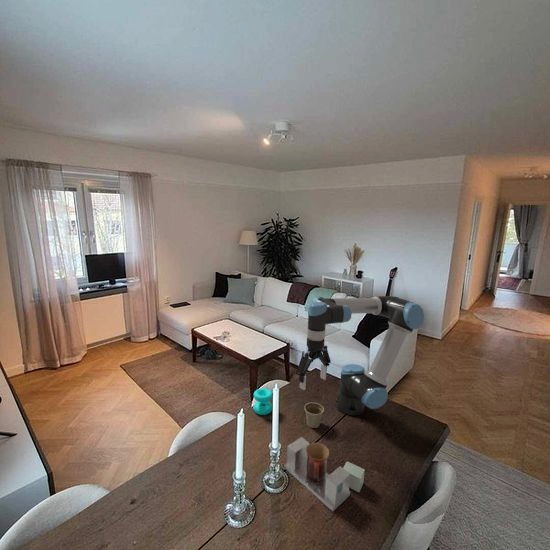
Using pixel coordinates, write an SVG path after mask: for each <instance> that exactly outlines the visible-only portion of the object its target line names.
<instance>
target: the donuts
mask: <svg viewBox="0 0 550 550" xmlns="http://www.w3.org/2000/svg"><path fill="white" fill-rule="evenodd" d="M272 393H273V391H271V389H268V388H264V387H262V388H258V389H256V390H255V391H254V393H253V398H254V401H255V400H256V402H255V403H254V404H253V406H252V407H253V411H254V413H256V414H257V415H261V416H265V415H268V414H270V413H271V412H272V411H273V409H272V407H273V404H272V403H271V400H272V399H273V398H272Z"/></svg>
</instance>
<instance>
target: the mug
mask: <svg viewBox="0 0 550 550" xmlns="http://www.w3.org/2000/svg"><path fill="white" fill-rule="evenodd" d="M306 453H307V474H308V476H309V477H310V478H311V479H312V480H315V481H320V480H322V479H323V478H324V477H325V474H326V472H327V460H328V457H329V456H330V450H329V448H328V447H327V446H326V445H325V444H323V443H320V442H311V443H310V444H309V445H308V446H307V447H306Z"/></svg>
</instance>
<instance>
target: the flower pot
mask: <svg viewBox="0 0 550 550" xmlns="http://www.w3.org/2000/svg"><path fill="white" fill-rule="evenodd" d="M304 411H305V417H306V419H305V420H306V424H307V427H309V428H310V429H314V428H316V429H317V428H319V427H320V425H321V420H322V415H323V413H324V412H325V408H324V406H323V405H321V404H320V403H318V402H307V403H306V404H305V405H304Z"/></svg>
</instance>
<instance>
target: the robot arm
mask: <svg viewBox="0 0 550 550" xmlns="http://www.w3.org/2000/svg"><path fill="white" fill-rule="evenodd" d="M307 314H308V315H307V338H306V346H307V351H302V352H301V357H300V360H299V363H298V365H297V367H296V371H295V374H296V375H297V376H299V381H298V382H299V389H301V390H303V391H305V390H306V383H307V375H306V374H307V372H308V370H309V368H310V366H311V364H312V363H313V362H314V361H315V360H317V359H319V360H320V362H321V364H320V376H319V378H320V379H322V380H323V381H326V380H327V371H328V367H330V364H331V362H332V361H331V357H330V355H329V354H330V353H329V352H328V345H325V338H326V327H327V325H331V324H343V323H348V322H349V321H351V319H352V314H356V315H357V314H372V315H374V316H381V317H384V318H386V319H388V320H387V323H388V325H389V326H388V329H387V331H386V333H385V335H384V337H383V339H382V342H381V344H380V346H379V348H378V350H377V352H376V354H375V357H374V359H373V361H372V363H371V365H370V367H369V370H367V371H366V370H365V367H364V366H362V365H360V364H356V363H355V364H354V363H350V364H349V363H348V364H345V365H342V368H341V371H340V383H339V392H338V394H337V396H336V399H335V403H334V404H335V407H336V409H337V410H338V411H340V413H342V414H343V415H348V416H360V415H362V414H363V413H364V412H365V407H367V408H368V409H371V410H376V409H379V408H380V407H382V406H384V405H385V404H386V402H387V400H388V398H389V394H388V390H387V387H388V382H387V379H388V376H389V374H390V372H391V370H392V368H393V366H394V363H395V362H396V359H397V357H398V355H399V353H400V351H401V348H402V346H403V344H404V342H405V339H406V338H407V336H408V335H410V334H412V333H413V331H414V330H417V329H419V328H421V326H422V325H423V323H424V320H425V312H424V309H423V308H422V306H421V305H420V304H417V303H415V302H413V301H410V300H407V299H403V298H401V297H397V296H392V295H387V296H386V295H379V296H378V295H375V296H372V297H371V298H370V297H366V298H365V297H363V298H362V297H361V298H354V297H353V298H351V297H349V298H347V297H346V298H339V297H338V298H335V297H333V298H324V297H323V296H314V298H313V299H312V300H311V301H310V303H309V305H308V312H307Z"/></svg>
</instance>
